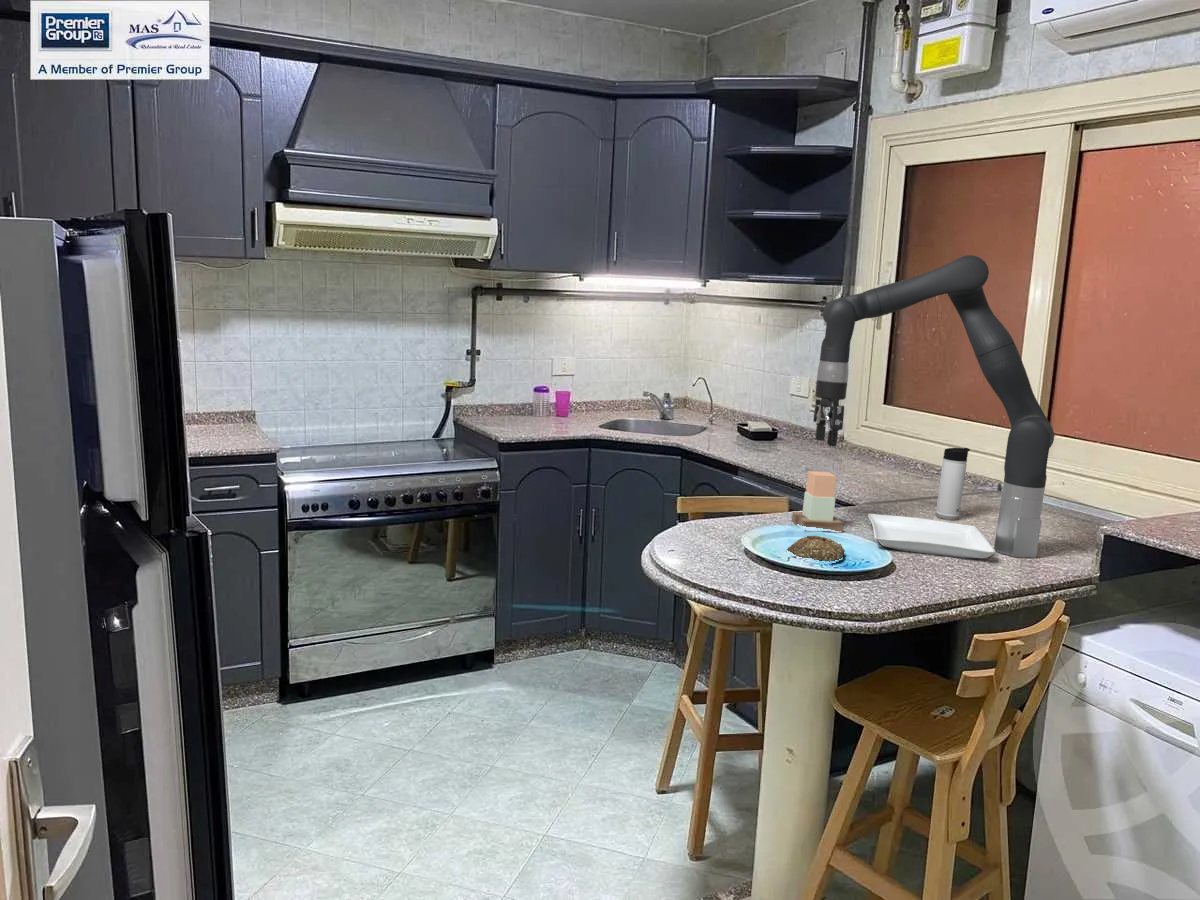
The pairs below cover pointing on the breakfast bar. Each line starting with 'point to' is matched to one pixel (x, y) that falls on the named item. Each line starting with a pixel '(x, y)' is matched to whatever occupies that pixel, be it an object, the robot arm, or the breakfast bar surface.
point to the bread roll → (817, 548)
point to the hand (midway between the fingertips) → (825, 443)
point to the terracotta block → (821, 484)
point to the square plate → (930, 536)
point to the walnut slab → (816, 522)
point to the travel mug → (951, 483)
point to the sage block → (818, 507)
